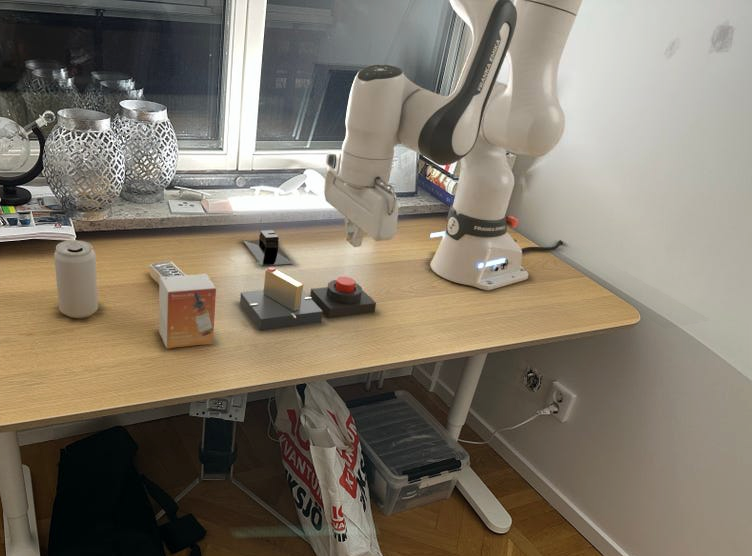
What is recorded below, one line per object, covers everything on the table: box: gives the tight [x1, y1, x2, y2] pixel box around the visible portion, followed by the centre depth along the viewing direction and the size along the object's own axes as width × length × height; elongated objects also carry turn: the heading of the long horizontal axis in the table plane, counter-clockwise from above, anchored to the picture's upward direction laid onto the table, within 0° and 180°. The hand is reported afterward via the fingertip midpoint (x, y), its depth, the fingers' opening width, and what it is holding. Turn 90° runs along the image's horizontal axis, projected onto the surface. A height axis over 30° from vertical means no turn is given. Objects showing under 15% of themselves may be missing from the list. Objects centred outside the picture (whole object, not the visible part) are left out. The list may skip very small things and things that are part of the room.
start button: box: [335, 276, 356, 293], centre depth 124 cm, size 4×4×2 cm
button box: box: [309, 279, 377, 320], centre depth 125 cm, size 10×8×4 cm
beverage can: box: [53, 239, 99, 319], centre depth 110 cm, size 6×6×12 cm
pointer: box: [263, 266, 304, 311], centre depth 118 cm, size 8×2×5 cm, turn 47°
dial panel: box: [239, 289, 324, 332], centre depth 120 cm, size 12×12×3 cm
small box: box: [158, 273, 217, 349], centre depth 107 cm, size 8×6×10 cm
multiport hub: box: [149, 260, 187, 285], centre depth 124 cm, size 4×11×2 cm, turn 35°
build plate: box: [243, 229, 294, 267], centre depth 141 cm, size 12×7×5 cm, turn 23°
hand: (353, 243), depth 120 cm, fingers closed
